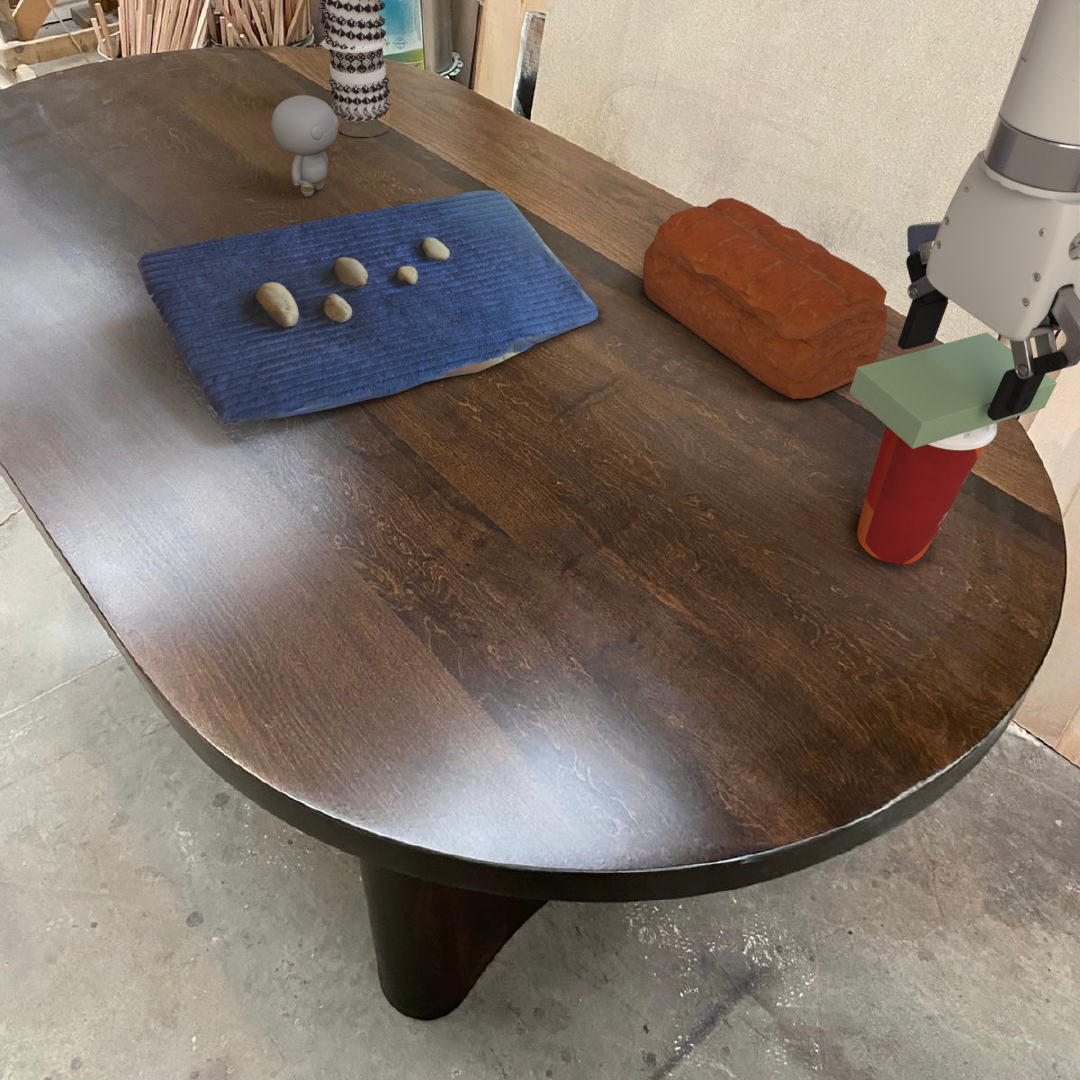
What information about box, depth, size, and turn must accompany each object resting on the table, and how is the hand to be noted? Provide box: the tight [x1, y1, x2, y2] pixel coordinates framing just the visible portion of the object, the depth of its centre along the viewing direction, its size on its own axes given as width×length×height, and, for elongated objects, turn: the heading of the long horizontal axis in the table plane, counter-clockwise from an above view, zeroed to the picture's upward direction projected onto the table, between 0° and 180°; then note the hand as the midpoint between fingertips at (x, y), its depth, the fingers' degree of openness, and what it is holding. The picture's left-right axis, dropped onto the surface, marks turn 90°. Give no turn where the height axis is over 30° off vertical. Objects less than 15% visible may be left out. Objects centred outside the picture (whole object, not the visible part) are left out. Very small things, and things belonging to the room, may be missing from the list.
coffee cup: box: [856, 422, 998, 565], centre depth 79 cm, size 8×8×15 cm
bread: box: [642, 197, 888, 400], centre depth 104 cm, size 16×27×11 cm, turn 33°
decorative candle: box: [318, 0, 392, 123], centre depth 135 cm, size 9×9×25 cm
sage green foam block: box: [849, 332, 1058, 449], centre depth 73 cm, size 13×7×2 cm, turn 115°
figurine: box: [271, 94, 339, 198], centre depth 124 cm, size 8×8×12 cm
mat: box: [136, 189, 599, 426], centre depth 106 cm, size 45×27×12 cm, turn 126°
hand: (957, 378), depth 72 cm, fingers open, 9 cm apart
